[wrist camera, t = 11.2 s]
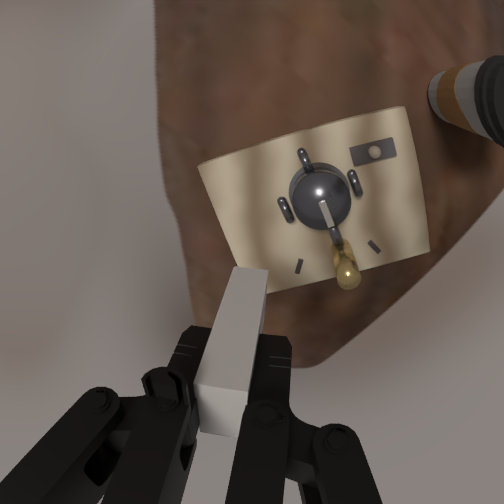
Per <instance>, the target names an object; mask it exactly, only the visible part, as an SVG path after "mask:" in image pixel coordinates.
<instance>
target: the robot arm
mask: <svg viewBox="0 0 504 504" xmlns="http://www.w3.org/2000/svg"><path fill="white" fill-rule="evenodd" d="M268 271H269V270H263V269H253V268H244V267H234V268H233V271H232V274H231V277H230V279H229V282H228V285H227V288H226V291H225V294H224V296H223V299H222V302H221V305H220V308H219V311H218V313H217V316H216V319H215V322H214V325H213V328H206V327H199V326H192V325H191V326H190V327H189V328H188V329H187V330H185V331H184V332H183V333H182V335H181V337H180V339H179V341H178V345H177V346H176V348H175V350H174V354H173V355H172V357H171V359H170V362H169V364H168V366H167V367H158V368H154V369H152V370H150V371H148V372H147V373H146V374H145V375H144V376H143V377H142V379H141V380H142V383H143V387H144V390H145V393H146V395H143V396H137V397H118V395H117V393H116V392H114V391H113V390H112V389H110V388H107V387H96V388H92V389H90V390H88V391H87V392H86V393H84V394H83V395H82V396H81V397H80V398H79V399H78V400H77V402H76V403H75V404H74V405H73V406H72V407H71V408H70V409H69V410H68V411H67V412H66V413H65V414H64V415H63V416H62V417H61V418H60V419H59V421H58V422H56V423H55V425H54V426H53V427H52V428H51V429H50V430H49V431H48V432H47V433H46V434H45V435H44V436H43V437H42V438H41V439H40V440H39V441H38V443H37V444H36V445H35V446H34V447H33V448H32V449H31V450H30V451H29V452H28V453H27V454H26V455H25V456H24V458H23V459H22V460H21V461H20V462H19V463H18V464H17V465H16V466H15V467H14V469H12V471H11V472H10V473H9V474H8V475H7V476H6V477H5V478H4V479H3V480H2V481H1V483H0V504H97V503H98V502H99V500H100V499H101V498H102V496H103V495H104V494H105V495H104V497H103V500H102V502H101V504H181V500H182V497H183V493H184V489H185V486H186V482H187V479H188V475H189V471H190V468H191V464H192V461H193V457H194V453H195V450H196V446H197V445H196V444H197V439H196V434H197V431H198V428H200V432H204V433H210V434H215V435H221V436H227V437H234V438H238V441H237V446H236V451H235V456H234V461H233V466H232V471H231V476H230V481H229V486H228V491H227V496H226V501H225V504H283V495H284V485H285V478H288V479H291V480H294V481H296V482H298V486H299V491H300V495H301V499H302V504H382V501H381V498H380V495H379V492H378V489H377V487H376V484H375V481H374V479H373V476H372V473H371V470H370V467H369V465H368V462H367V459H366V456H365V454H364V451H363V448H362V446H361V443H360V440H359V438H358V436H357V435H356V433H355V431H353V430H352V429H351V428H349V427H348V426H345V425H342V424H328V425H325V426H322V427H321V428H319V427H316V426H313V425H310V424H307V423H305V422H303V421H301V420H299V419H298V418H297V417H295V415H294V414H293V413H292V411H291V409H290V406H289V393H290V376H291V356H292V346H291V344H290V342H289V340H288V338H287V337H286V336H276V335H267V334H262V330H263V324H264V315H265V305H266V294H267V282H268Z"/></svg>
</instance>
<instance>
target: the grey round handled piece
mask: <svg viewBox="0 0 504 504" xmlns="http://www.w3.org/2000/svg"><path fill="white" fill-rule="evenodd" d="M297 155H298V157H299V159H300V162H301V164H302V166H303V169H304V171H305V172H303V173H302V174H301V175H300V176H299V177H298V178H297V179H296V181H295V183H294V186H293V190H292V206H293V210H294V213H295V215H296V217H297V218H298V219H299V221H300V222H301V223H303V224H304V225H305V226H307V227H309V228H312V229H315V230H328V231H329V234H330V236H331V239H332V242H333V243H332V245H331V253H332V257H333V262H334V267H335V272H336V277H337V282H338V285H339V286H340V287H341V288H342V289H345V290H351V289H354V288H356V287H357V286H358V285H359V284H360V282H361V274H360V271H359V268H358V265H357V262H356V259H355V256H354V253H353V251H352V248H351V245H350V243H349V241H347V240H346V239H343V238H342V235H341V233H340V230H339V227H338V225H339V224H341V223H342V222H343V221H344V220H345V219H346V217H347V216H348V214H349V212H350V208H351V194H350V191H349V189H348V187H347V186H346V184H345V182H344V181H343V179H342V178H341V176H340V175H339V174H337V173H336V172H335V171H333V170H331V169H328V168H325V167H315V168H314V167H313V165H312V163H311V160H310V158H309V156H308V154H307V151H306V150H305V149H304V148H299V149H298V150H297ZM347 176H348V178H349V181H350V184H351V186H352V189H353V192H354V195H355V196H356V197H362V196H363V190H362V187H361V184H360V181H359V179H358V176H357V173H356V171H355V170H353V169H350V170H348V172H347ZM277 203H278V205H279V207H280V209H281V212H282V214H283V216H284V218H285V220H286V222H287V223H289V224H291V223H293V222H294V216H293V213H292V211H291V209H290V207H289V205H288V202H287V200H286V198H285V197H283V196H281V197H279V198H278V199H277Z"/></svg>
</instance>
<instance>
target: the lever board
mask: <svg viewBox="0 0 504 504" xmlns="http://www.w3.org/2000/svg"><path fill="white" fill-rule="evenodd" d="M299 148H304V149H305V150H306V151H307V154H308V156H309V158H310V160H311V163H312V165H313V167H314V168H315V167H325V168H328V169H331V170H333V171H335V172H336V173H337V174H339V175H340V176H341V178H342V179H343V181H344V182H345V184H346V186H347V187H348V189H349V191H350V194H351V208H350V212H349V214H348V216H347V217H346V219H345V220H344V221H343V222H342V223H341V224H339V225H338V227H339V230H340V233H341V235H342V238H343V239H346V240H347V241H349V243H350V245H351V248H352V251H353V253H354V256H355V259H356V262H357V265H358V268H359V271H361V270H365V269H369V268H373V267H377V266H380V265H384V264H388V263H391V262H395V261H399V260H402V259H406V258H410V257H413V256H417V255H420V254H424V253H427V252H430V245H429V235H428V226H427V217H426V210H425V202H424V196H423V189H422V183H421V177H420V172H419V166H418V161H417V156H416V151H415V147H414V142H413V138H412V133H411V129H410V125H409V121H408V117H407V113H406V109H405V106H397V107H392V108H387V109H383V110H378V111H374V112H369V113H365V114H361V115H357V116H352V117H348V118H344V119H340V120H336V121H333V122H329V123H325V124H321V125H318V126H314V127H310V128H307V129H303V130H300V131H296V132H293V133H290V134H286V135H283V136H280V137H277V138H273V139H270V140H267V141H264V142H261V143H258V144H255V145H252V146H248V147H246V148H243V149H240V150H237V151H234V152H231V153H228V154H225V155H222V156H220V157H217V158H214V159H211V160H208V161H206V162H203V163H201V164H200V165H198V166H197V167H198V170H199V172H200V175H201V177H202V180H203V182H204V185H205V187H206V190H207V192H208V195H209V197H210V200H211V202H212V205H213V207H214V209H215V212H216V214H217V217H218V219H219V222H220V224H221V227H222V229H223V231H224V234H225V236H226V239H227V241H228V244H229V246H230V248H231V251H232V253H233V256H234V258H235V261H236V263H237V265H238V267H244V268H253V269H263V270H269V271H268V282H267V293H272V292H276V291H280V290H285V289H289V288H293V287H297V286H302V285H306V284H310V283H314V282H318V281H322V280H326V279H330V278H334V277H336V272H335V267H334V262H333V257H332V253H331V245H332V243H333V242H332V239H331V236H330V234H329V231H328V230H315V229H312V228H309V227H307V226H305V225H304V224H303V223H301V222H300V221H299V219H298V218H297V217H296V215H295V213H294V210H293V206H292V190H293V186H294V183H295V181H296V179H297V178H298V177H299V176H300V175H301V174H302V173H303V172H305V171H304V169H303V166H302V164H301V162H300V159H299V157H298V155H297V150H298V149H299ZM350 169H353V170H355V171H356V173H357V176H358V179H359V181H360V184H361V187H362V190H363V196H362V197H356V196H355V195H354V192H353V189H352V186H351V184H350V181H349V178H348V176H347V172H348V170H350ZM281 196H283V197H285V198H286V200H287V202H288V205H289V207H290V209H291V211H292V213H293V216H294V222H293V223H291V224H289V223H287V222H286V220H285V218H284V216H283V214H282V212H281V209H280V207H279V205H278V203H277V199H278V198H279V197H281Z"/></svg>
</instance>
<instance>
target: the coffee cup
mask: <svg viewBox="0 0 504 504" xmlns="http://www.w3.org/2000/svg"><path fill="white" fill-rule="evenodd" d="M428 97H429V101H430V105H431V107H432V109H433V111H434V112H435V113H436V114H437V116H438V117H440V118H441V119H442V120H444V121H446V122H448V123H451V124H453V125H455V126H458V127H460V128H462V129H465V130H467V131H470V132H472V133H475V134H477V135H480V136H484V137H486V138H489V139H491V140H493V141H495V142H496V143H497V144H499V145H500V146H502V147H504V56H493V57H490V58H488V59H486V60H484V61H480V62H474V63H468V64H465V65H461V66H458V67H454V68H451V69H449V70H446V71H443V72H440V73H438V74H436V75H435V76H434V77H433V78H432V80H431V82H430V84H429V89H428Z"/></svg>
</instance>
